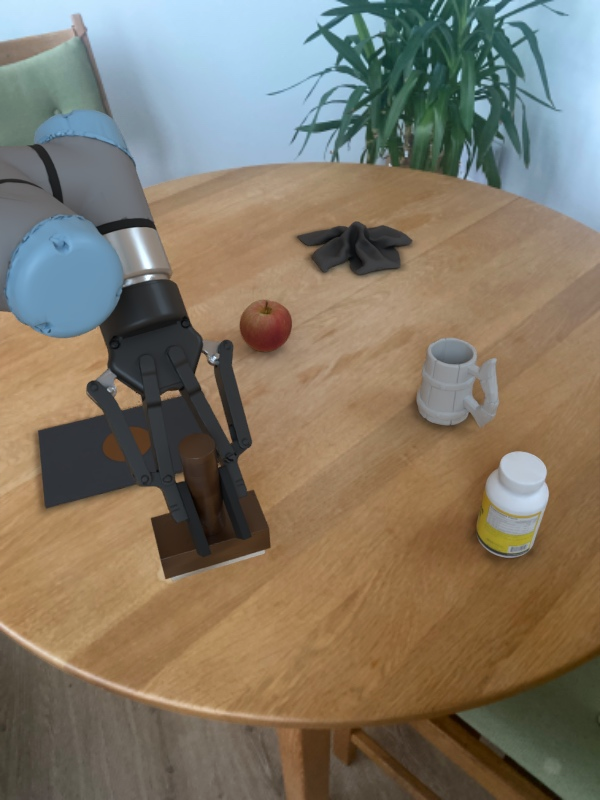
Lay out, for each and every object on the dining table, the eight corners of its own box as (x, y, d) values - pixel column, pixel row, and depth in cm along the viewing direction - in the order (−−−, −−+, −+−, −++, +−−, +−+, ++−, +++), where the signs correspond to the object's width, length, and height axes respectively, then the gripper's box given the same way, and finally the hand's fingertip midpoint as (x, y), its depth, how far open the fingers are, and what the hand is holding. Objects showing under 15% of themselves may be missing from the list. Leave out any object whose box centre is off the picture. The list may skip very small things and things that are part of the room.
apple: (288, 327, 109) (287, 284, 104) (296, 357, 103) (294, 313, 98) (239, 332, 108) (235, 289, 103) (244, 362, 102) (239, 319, 97)
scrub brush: (167, 586, 61) (140, 482, 52) (157, 544, 65) (130, 440, 56) (271, 554, 64) (263, 450, 55) (256, 515, 67) (246, 411, 58)
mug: (439, 383, 97) (449, 313, 90) (507, 424, 91) (525, 353, 83) (403, 407, 94) (411, 336, 86) (472, 452, 87) (486, 380, 79)
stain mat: (46, 508, 81) (44, 504, 81) (39, 433, 91) (37, 429, 91) (222, 461, 87) (221, 457, 86) (197, 395, 97) (197, 391, 96)
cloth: (414, 231, 133) (417, 201, 129) (405, 280, 119) (408, 248, 115) (303, 223, 136) (303, 194, 132) (282, 269, 123) (281, 238, 119)
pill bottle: (505, 506, 80) (525, 436, 72) (545, 545, 76) (570, 475, 68) (462, 528, 78) (477, 458, 70) (501, 570, 73) (521, 500, 66)
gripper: (211, 281, 65) (293, 510, 65) (42, 327, 60) (131, 578, 59) (228, 255, 58) (320, 512, 58) (37, 305, 53) (138, 589, 52)
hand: (224, 545), depth 58 cm, fingers closed on scrub brush, 3 cm apart
